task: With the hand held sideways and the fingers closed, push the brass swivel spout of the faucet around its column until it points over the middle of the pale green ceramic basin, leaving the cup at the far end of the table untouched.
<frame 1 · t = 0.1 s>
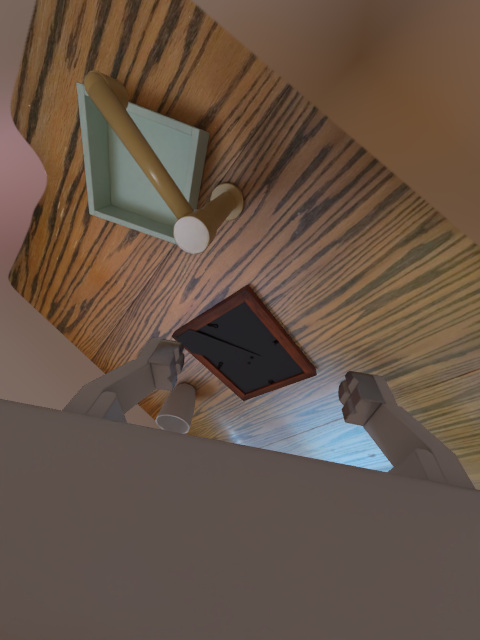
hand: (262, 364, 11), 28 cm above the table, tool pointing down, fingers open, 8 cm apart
picture frame: (245, 349, 50), on the table
faucet base: (227, 201, 33), on the table
spout: (159, 173, 19), point 15 cm above the table, hinge at -40.0°
cup: (186, 388, 61), on the table
sink: (153, 174, 32), on the table
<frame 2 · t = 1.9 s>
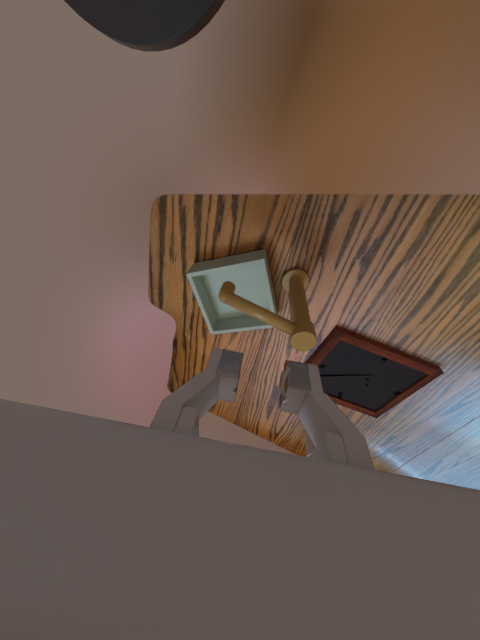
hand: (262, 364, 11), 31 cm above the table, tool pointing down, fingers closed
picture frame: (357, 374, 54), on the table
faucet base: (295, 280, 42), on the table
spout: (267, 315, 29), point 15 cm above the table, hinge at -40.0°
cup: (317, 422, 67), on the table
sink: (237, 289, 44), on the table
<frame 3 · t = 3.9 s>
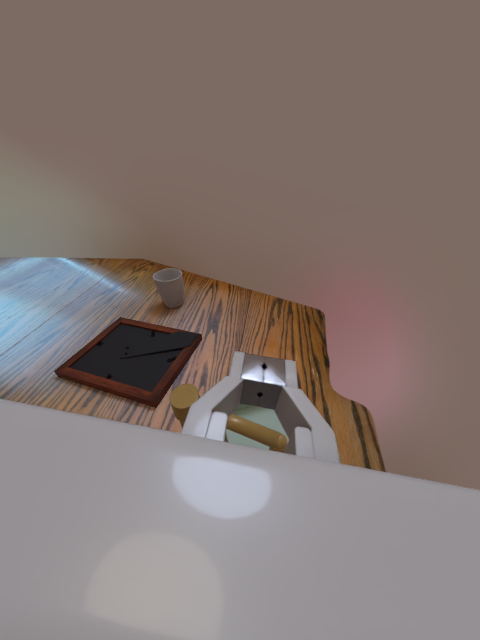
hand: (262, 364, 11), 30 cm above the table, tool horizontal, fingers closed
picture frame: (136, 356, 54), on the table
spout: (226, 421, 25), point 15 cm above the table, hinge at -40.0°
cup: (174, 304, 72), on the table
sink: (267, 438, 38), on the table
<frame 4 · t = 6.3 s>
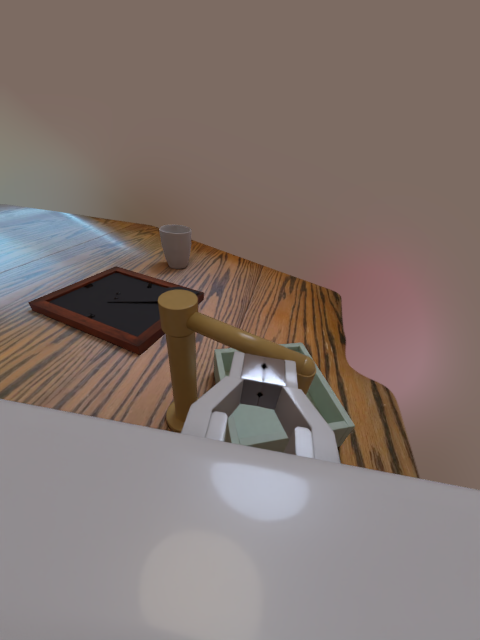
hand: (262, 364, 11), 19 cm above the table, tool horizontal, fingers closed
picture frame: (126, 305, 47), on the table
faucet base: (186, 415, 29), on the table
spout: (230, 340, 18), point 15 cm above the table, hinge at -40.0°
cup: (178, 265, 65), on the table
sink: (269, 404, 31), on the table
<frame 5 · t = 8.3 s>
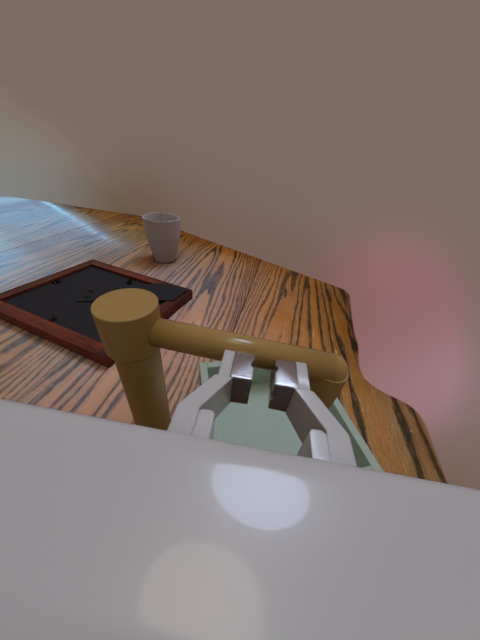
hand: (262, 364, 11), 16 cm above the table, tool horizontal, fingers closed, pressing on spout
picture frame: (100, 304, 40), on the table
faucet base: (161, 451, 22), on the table
spout: (220, 350, 12), point 15 cm above the table, hinge at -23.4°, touching gripper
cup: (165, 259, 58), on the table
sink: (268, 433, 24), on the table
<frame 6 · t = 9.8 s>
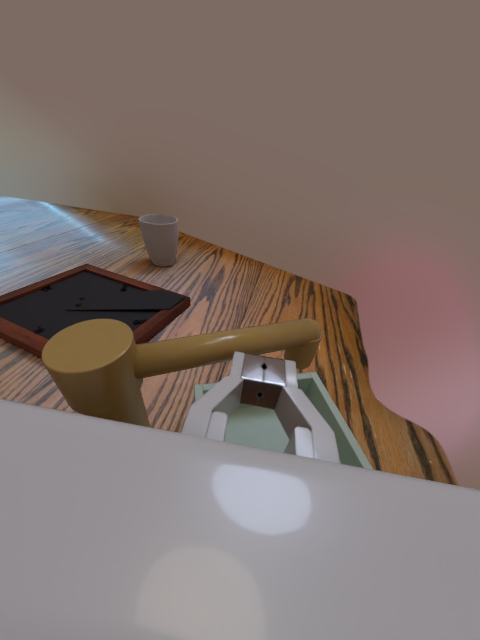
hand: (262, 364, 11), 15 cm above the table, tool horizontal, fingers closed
picture frame: (92, 313, 38), on the table
faucet base: (149, 489, 19), on the table
spout: (212, 353, 12), point 15 cm above the table, hinge at 8.0°
cup: (163, 263, 56), on the table
sink: (270, 465, 22), on the table
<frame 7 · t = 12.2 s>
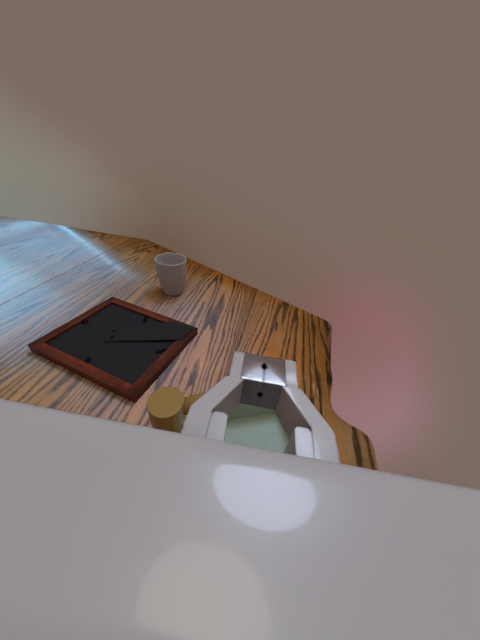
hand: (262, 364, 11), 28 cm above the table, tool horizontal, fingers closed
picture frame: (122, 342, 49), on the table
spout: (219, 399, 23), point 15 cm above the table, hinge at 8.0°
cup: (173, 291, 67), on the table
sink: (255, 457, 33), on the table
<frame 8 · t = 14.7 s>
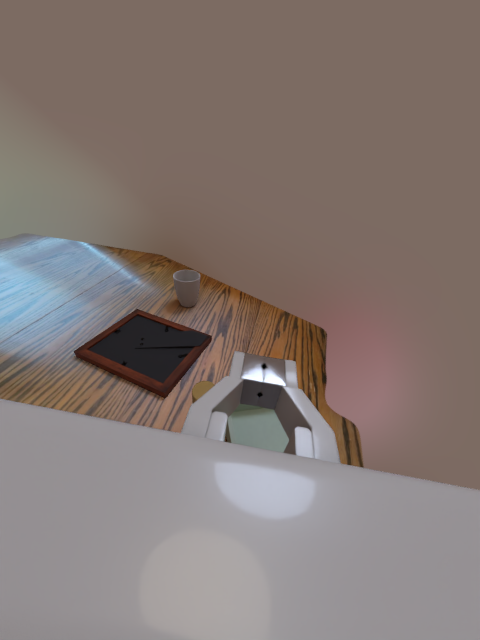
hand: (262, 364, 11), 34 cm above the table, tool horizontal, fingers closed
picture frame: (149, 348, 58), on the table
spout: (240, 390, 32), point 15 cm above the table, hinge at 8.0°
cup: (188, 303, 76), on the table
sink: (263, 440, 42), on the table
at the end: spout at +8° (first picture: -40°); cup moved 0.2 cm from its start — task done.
